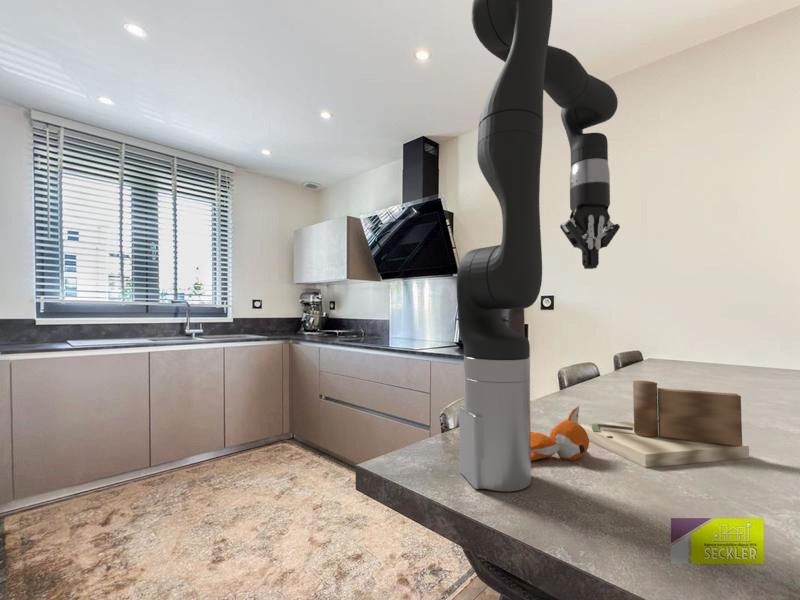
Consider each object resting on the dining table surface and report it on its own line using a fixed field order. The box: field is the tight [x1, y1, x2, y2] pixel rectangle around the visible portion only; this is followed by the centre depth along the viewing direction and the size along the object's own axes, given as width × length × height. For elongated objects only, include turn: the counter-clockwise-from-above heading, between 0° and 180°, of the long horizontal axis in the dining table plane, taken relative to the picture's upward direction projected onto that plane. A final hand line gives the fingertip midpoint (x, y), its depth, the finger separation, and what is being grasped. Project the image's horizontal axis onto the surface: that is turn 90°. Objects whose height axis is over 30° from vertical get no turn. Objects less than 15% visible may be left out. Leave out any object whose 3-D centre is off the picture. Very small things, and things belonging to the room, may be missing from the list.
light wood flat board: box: [580, 420, 750, 468], centre depth 68 cm, size 20×16×2 cm
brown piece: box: [598, 380, 743, 446], centre depth 67 cm, size 21×4×9 cm, turn 64°
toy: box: [531, 405, 590, 462], centre depth 68 cm, size 8×22×15 cm
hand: (590, 268), depth 80 cm, fingers closed
